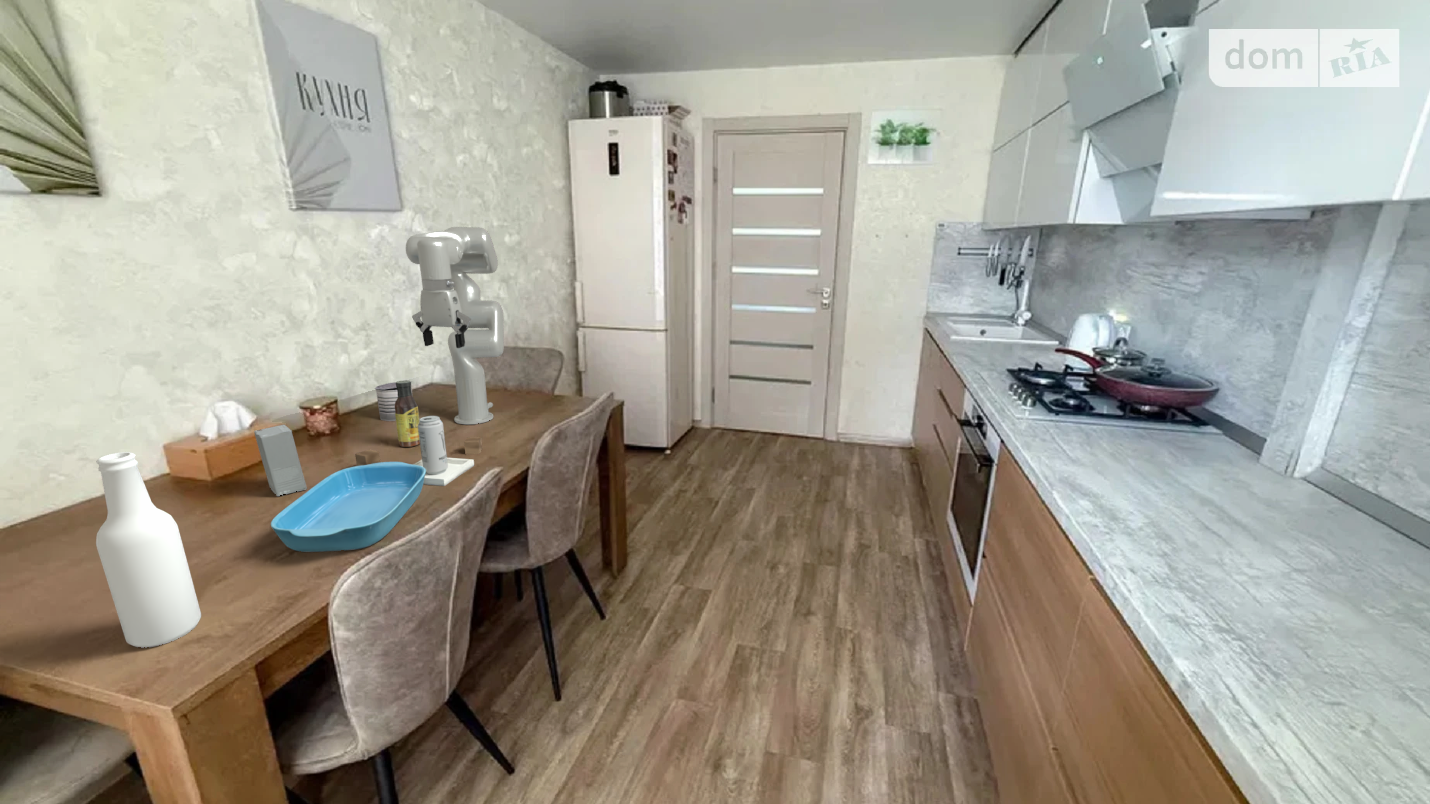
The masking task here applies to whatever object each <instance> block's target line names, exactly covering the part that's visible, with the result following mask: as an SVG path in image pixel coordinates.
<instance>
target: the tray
mask: <svg viewBox="0 0 1430 804" xmlns="http://www.w3.org/2000/svg"><path fill="white" fill-rule="evenodd" d="M474 460H475V459H469V458H456V457H447V462H448V468H447V469H446V471H445V472H444V473H441V474H437V475H428V474H426V473H425V477H424V482H423V485H430V486H439V487H440V486H441V487H445V486H447V485H448V484H449V483H451V482H452V481H454V480H456V479H457V478H458V477H459V476H461V475H463V474H464V473H466V472H468V471H469V470H471V468H473V467H474V466H475V461H474ZM412 465H419V466H422V467H423V463H422V459H420V460H418V461H417V462H415V463H412Z"/></svg>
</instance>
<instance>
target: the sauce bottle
mask: <svg viewBox="0 0 1430 804" xmlns="http://www.w3.org/2000/svg"><path fill="white" fill-rule="evenodd" d="M396 387H397V392H398V394H397V395H398V398H397V400H396V402H395V416H396V421H395V424H396V431H397V440H398V444H399V446H400V447H402V448H412V447H416V446H420V441H419V433H418V424H419V422H420V421H419V419H420V413H419V406H418V404H417V401H416V400H415V398H414V397H413V396H412V395H413V392H412V393H411V388H412V381H411V380H407V379H405V380H398V381H396Z"/></svg>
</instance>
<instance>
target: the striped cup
mask: <svg viewBox="0 0 1430 804" xmlns="http://www.w3.org/2000/svg"><path fill="white" fill-rule="evenodd" d="M396 382H397V381H396ZM396 382H395V381H394V382H388V383H383V384H380V385H377V386H375V388H374V389H375V392H376V399H377V404H378V406H377V407H378V412H379V419H380V421H386V422H396V416H395V402H396V400H397V398H398V395H397V394H398V392H397V387H396ZM411 393H412V396H413V389H412V387H411Z"/></svg>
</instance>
